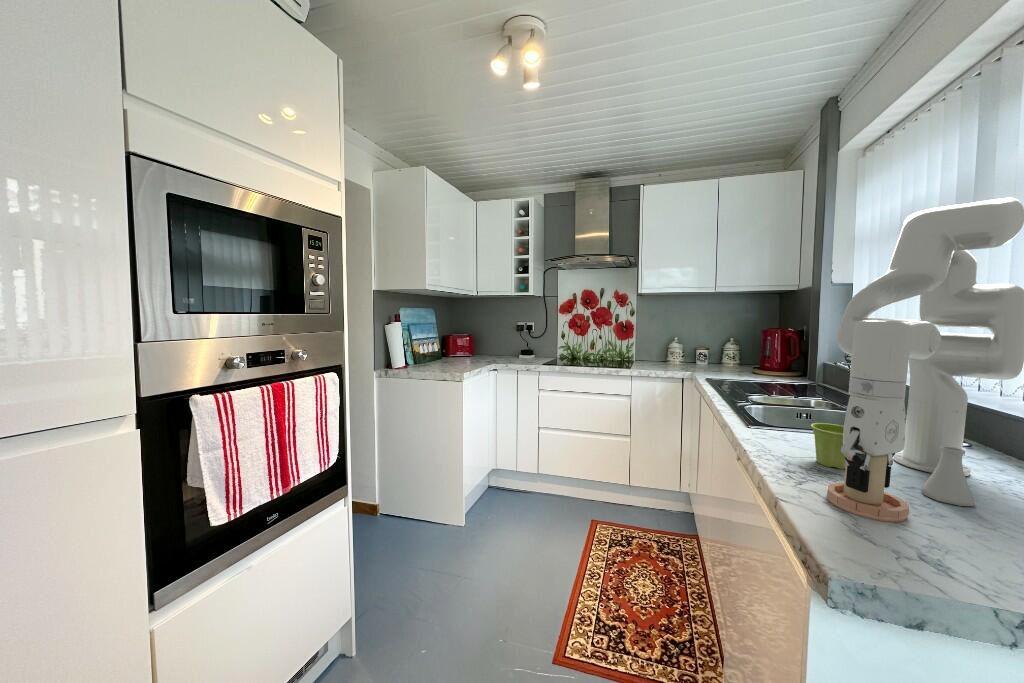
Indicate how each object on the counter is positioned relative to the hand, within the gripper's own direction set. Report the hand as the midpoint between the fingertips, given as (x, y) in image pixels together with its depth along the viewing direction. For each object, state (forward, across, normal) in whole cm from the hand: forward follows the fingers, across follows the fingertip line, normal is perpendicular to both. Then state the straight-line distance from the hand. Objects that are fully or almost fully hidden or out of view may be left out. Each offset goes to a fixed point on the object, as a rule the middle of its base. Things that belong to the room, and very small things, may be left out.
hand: (867, 486), depth 74 cm
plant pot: (+4, +18, +16) cm, 24 cm away
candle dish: (+4, 0, 0) cm, 4 cm away
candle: (+3, 0, +1) cm, 3 cm away
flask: (+4, +20, -3) cm, 20 cm away
